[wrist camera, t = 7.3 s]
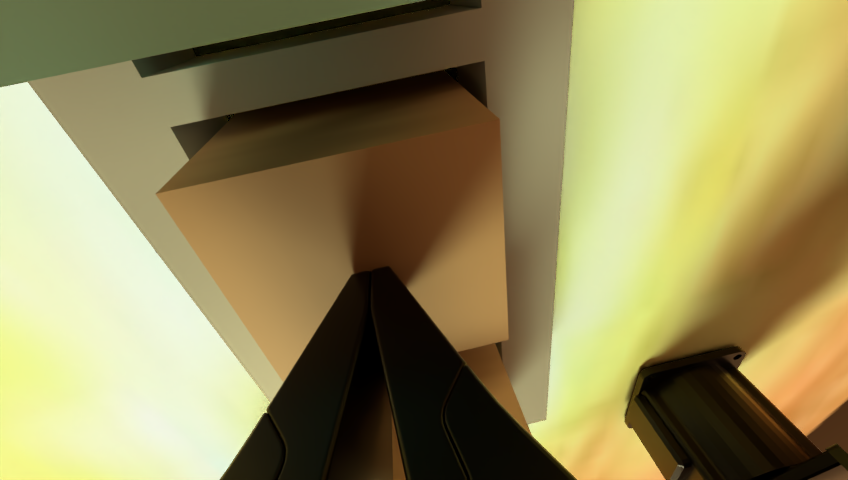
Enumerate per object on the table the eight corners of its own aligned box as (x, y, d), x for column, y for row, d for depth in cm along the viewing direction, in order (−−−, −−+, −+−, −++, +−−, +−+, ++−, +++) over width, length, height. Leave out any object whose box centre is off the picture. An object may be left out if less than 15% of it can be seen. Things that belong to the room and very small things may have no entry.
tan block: (443, 69, 10) (499, 118, 6) (463, 237, 14) (508, 339, 10) (236, 113, 10) (155, 193, 6) (309, 272, 14) (289, 392, 10)
